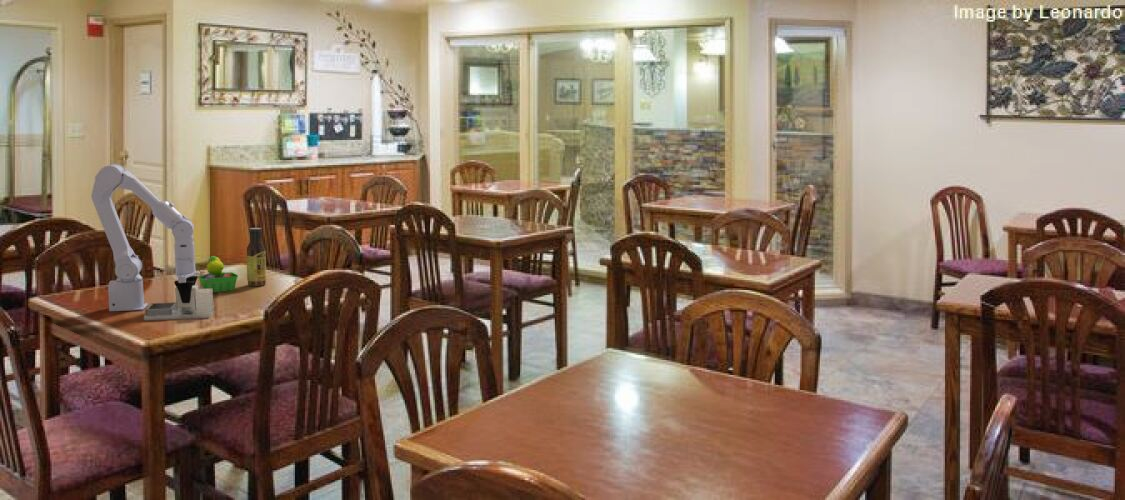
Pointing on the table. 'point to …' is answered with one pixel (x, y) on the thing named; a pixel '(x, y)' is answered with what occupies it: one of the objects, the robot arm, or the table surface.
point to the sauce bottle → (256, 259)
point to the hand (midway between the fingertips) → (187, 301)
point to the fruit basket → (217, 277)
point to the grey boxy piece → (172, 311)
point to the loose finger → (192, 300)
